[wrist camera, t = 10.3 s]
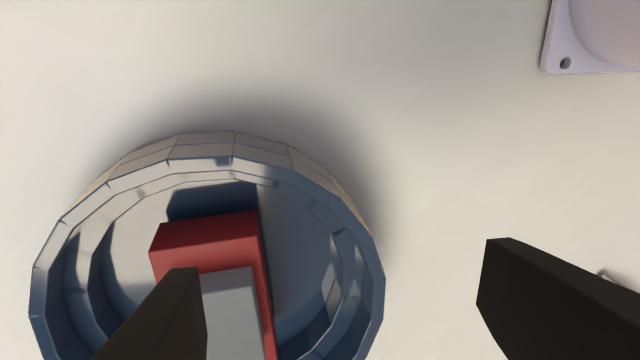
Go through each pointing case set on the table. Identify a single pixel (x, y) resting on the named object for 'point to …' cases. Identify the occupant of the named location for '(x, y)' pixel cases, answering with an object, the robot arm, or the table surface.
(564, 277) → the robot arm
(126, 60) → the table surface
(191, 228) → the red block grey top
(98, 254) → the bowl
